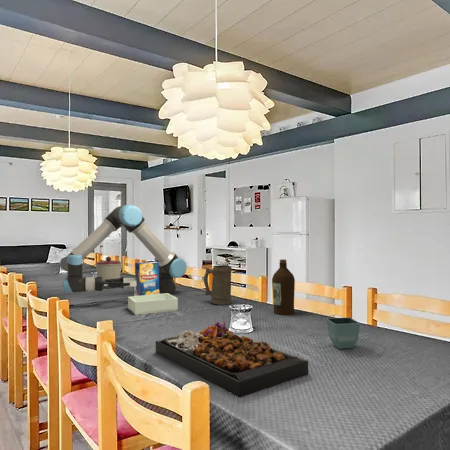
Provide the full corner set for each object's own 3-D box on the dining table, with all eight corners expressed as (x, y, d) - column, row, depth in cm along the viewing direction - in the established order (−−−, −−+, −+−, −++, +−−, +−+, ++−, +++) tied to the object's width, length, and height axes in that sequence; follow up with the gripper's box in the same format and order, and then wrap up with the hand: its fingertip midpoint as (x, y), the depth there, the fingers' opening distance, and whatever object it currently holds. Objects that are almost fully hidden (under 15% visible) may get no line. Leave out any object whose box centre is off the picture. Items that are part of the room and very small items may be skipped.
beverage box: (159, 302, 222) (158, 262, 222) (140, 305, 216) (139, 263, 216) (154, 300, 228) (153, 261, 228) (135, 303, 222) (134, 262, 222)
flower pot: (326, 343, 143) (325, 317, 143) (350, 342, 143) (350, 317, 143) (334, 351, 134) (334, 324, 134) (361, 350, 135) (360, 323, 135)
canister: (118, 289, 272) (117, 257, 271) (91, 289, 272) (90, 258, 272) (125, 285, 290) (124, 255, 289) (100, 285, 290) (99, 255, 290)
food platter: (155, 354, 136) (155, 323, 136) (216, 340, 151) (215, 313, 151) (239, 400, 100) (238, 358, 100) (308, 376, 114) (307, 339, 114)
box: (168, 304, 217) (167, 293, 217) (177, 310, 202) (177, 298, 201) (128, 308, 208) (127, 296, 208) (135, 315, 193) (135, 302, 193)
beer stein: (233, 301, 222) (232, 264, 222) (231, 305, 211) (231, 266, 211) (205, 301, 224) (204, 264, 224) (202, 305, 213) (201, 267, 213)
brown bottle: (287, 309, 199) (286, 258, 199) (299, 313, 190) (298, 259, 190) (268, 311, 195) (267, 259, 195) (280, 316, 185) (279, 261, 185)
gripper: (96, 287, 227) (135, 285, 232) (93, 295, 203) (137, 292, 208) (95, 274, 227) (135, 272, 232) (93, 280, 203) (136, 277, 208)
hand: (136, 281), depth 220 cm, fingers open, 13 cm apart
